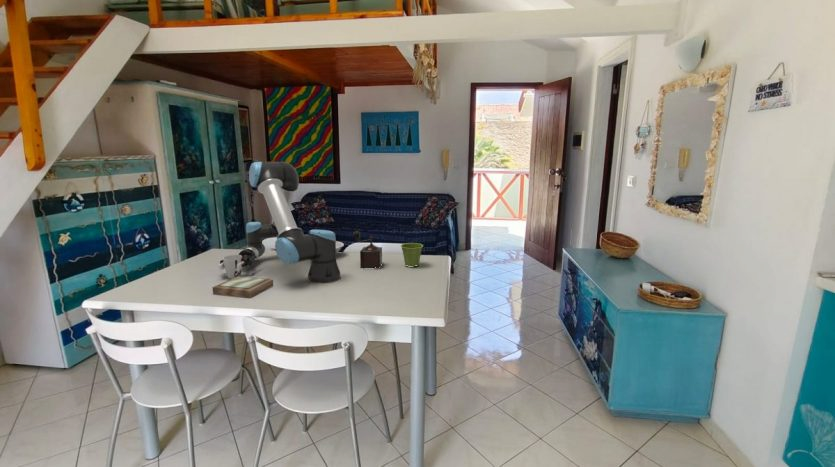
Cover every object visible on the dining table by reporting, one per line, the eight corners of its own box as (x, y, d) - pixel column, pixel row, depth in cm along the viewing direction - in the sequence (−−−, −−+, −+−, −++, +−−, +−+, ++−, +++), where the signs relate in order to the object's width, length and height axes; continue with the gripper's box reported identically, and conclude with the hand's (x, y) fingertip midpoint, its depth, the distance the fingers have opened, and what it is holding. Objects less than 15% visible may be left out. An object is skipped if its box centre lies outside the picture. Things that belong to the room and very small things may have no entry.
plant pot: (398, 263, 214) (398, 243, 212) (419, 262, 217) (419, 242, 215) (403, 269, 203) (403, 248, 200) (425, 268, 206) (425, 247, 203)
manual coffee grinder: (383, 263, 214) (382, 230, 211) (379, 269, 203) (379, 235, 200) (354, 262, 215) (354, 230, 212) (350, 268, 204) (349, 234, 201)
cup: (236, 280, 184) (234, 259, 182) (221, 279, 185) (219, 258, 183) (247, 275, 192) (245, 255, 190) (232, 274, 193) (230, 254, 191)
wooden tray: (273, 285, 177) (272, 278, 176) (250, 298, 162) (249, 290, 161) (238, 282, 181) (237, 275, 180) (213, 294, 166) (212, 286, 165)
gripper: (268, 262, 206) (251, 275, 183) (229, 262, 205) (207, 275, 183) (267, 248, 204) (250, 260, 182) (227, 248, 204) (205, 260, 182)
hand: (228, 267), depth 183 cm, fingers closed on cup, 8 cm apart
